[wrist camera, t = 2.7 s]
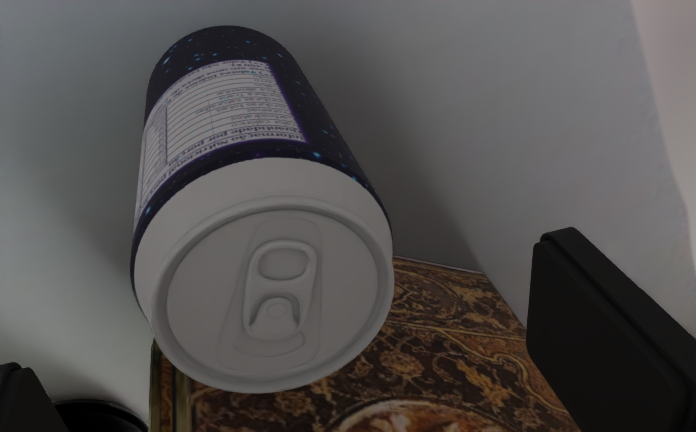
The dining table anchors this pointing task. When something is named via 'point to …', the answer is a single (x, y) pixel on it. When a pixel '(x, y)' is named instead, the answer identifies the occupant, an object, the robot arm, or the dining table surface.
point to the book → (393, 373)
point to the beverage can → (253, 220)
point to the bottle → (98, 416)
